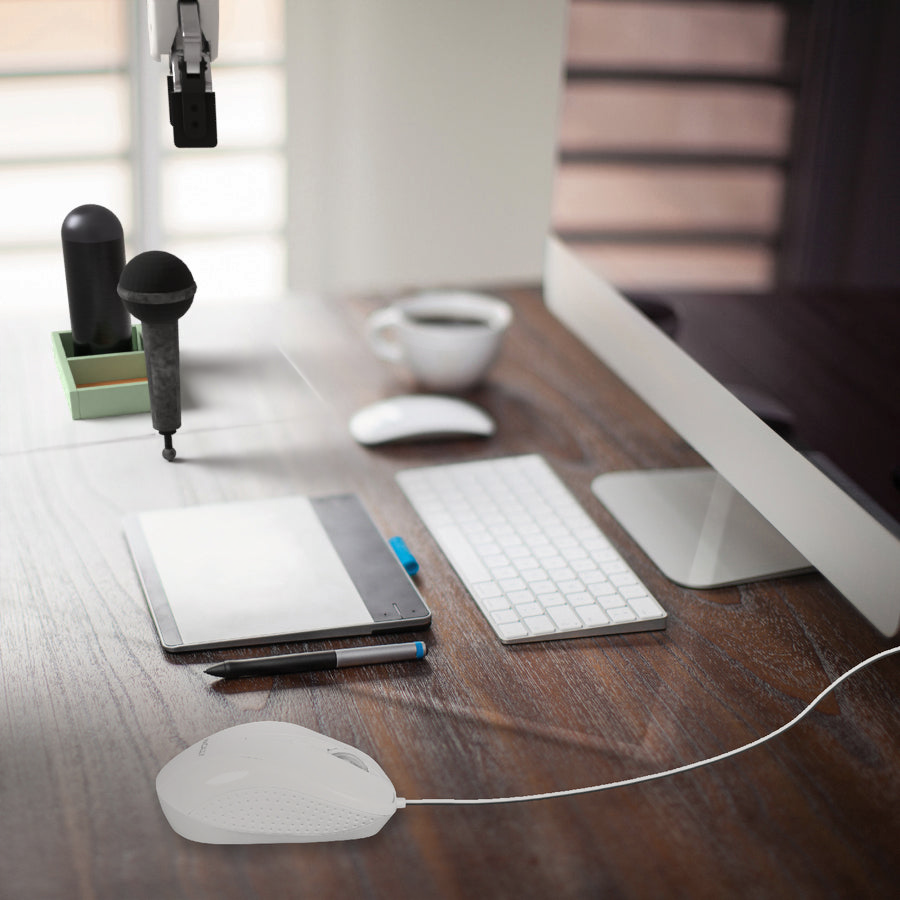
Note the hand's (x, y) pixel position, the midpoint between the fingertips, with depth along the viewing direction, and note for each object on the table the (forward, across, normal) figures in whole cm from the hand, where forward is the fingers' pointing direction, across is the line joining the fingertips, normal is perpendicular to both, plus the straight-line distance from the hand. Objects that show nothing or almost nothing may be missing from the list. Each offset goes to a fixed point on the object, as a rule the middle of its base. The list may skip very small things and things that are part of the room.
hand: (192, 136), depth 90 cm
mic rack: (+31, -27, -9) cm, 42 cm away
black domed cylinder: (+30, -31, -10) cm, 45 cm away
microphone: (+31, -6, -4) cm, 32 cm away
